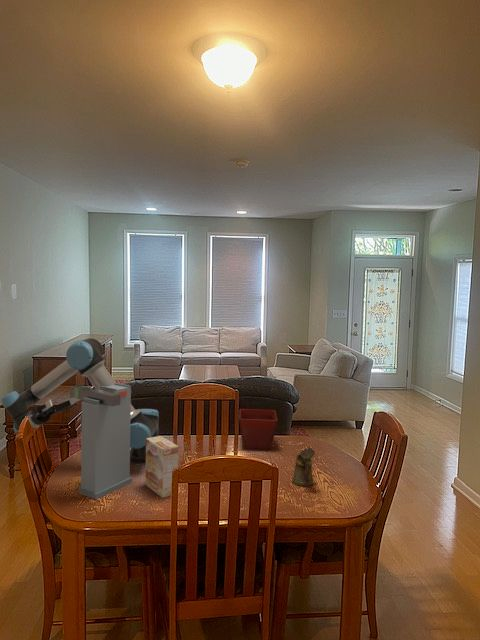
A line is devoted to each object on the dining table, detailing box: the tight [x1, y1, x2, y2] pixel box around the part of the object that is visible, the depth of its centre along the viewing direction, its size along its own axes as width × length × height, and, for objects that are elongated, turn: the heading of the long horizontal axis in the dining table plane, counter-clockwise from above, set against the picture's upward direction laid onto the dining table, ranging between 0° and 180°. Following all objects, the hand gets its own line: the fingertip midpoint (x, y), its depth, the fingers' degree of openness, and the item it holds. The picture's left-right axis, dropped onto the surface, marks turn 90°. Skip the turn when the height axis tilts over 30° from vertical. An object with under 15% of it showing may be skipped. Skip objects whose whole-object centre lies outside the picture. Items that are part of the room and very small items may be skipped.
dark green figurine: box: [291, 447, 315, 487], centre depth 195 cm, size 9×14×18 cm, turn 3°
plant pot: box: [238, 408, 278, 451], centre depth 241 cm, size 19×19×17 cm
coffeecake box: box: [144, 435, 179, 499], centre depth 186 cm, size 15×7×20 cm, turn 37°
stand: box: [77, 382, 133, 500], centre depth 185 cm, size 10×19×41 cm, turn 148°
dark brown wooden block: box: [69, 385, 120, 407], centre depth 181 cm, size 24×4×4 cm, turn 58°
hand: (65, 399), depth 192 cm, fingers open, 13 cm apart
